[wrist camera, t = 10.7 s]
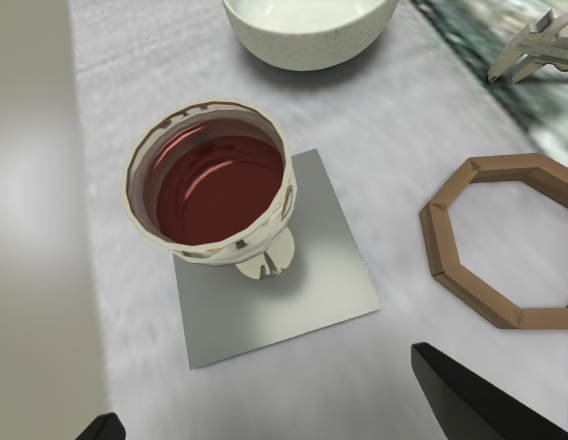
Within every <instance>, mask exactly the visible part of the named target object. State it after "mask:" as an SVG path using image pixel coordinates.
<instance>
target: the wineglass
mask: <svg viewBox="0 0 568 440" xmlns="http://www.w3.org/2000/svg"><path fill="white" fill-rule="evenodd" d="M296 193H297V182H296V176H295V170H294V166H293V164H292V160H291V154H290V148H289V142H288V138H287V137H286V135H285V133H284V132H283V130H282V128H281V127H280V125H279V123H278V122H277V120H276V119H275V118H273V117H272V116H271V115H270V114H268V113H267V112H266V111H264V110H263V109H262V108H261V107H259V106H257V105H254V104H252V103H249V102H246V101H243V100H240V99H237V98H219V97H212V98H207V99H202V100H197V101H192V102H189V103H186V104H184V105H182V106H180V107H178V108H176V109H173V110H171V111H169V112H167V113H166V114H164V115H163V116H162V117H161V118H159V119H158V120H157V121H155V122H154V123H153V124H152V125H150V126H149V127H148V128H147V129H146V130H145V131H144V133H143V134H142V135H141V136H140V138H139V139H138V140H137V142H136V143H135V144H134V145H133V147H132V148H131V151H130V153H129V155H128V158H127V160H126V162H125V165H124V167H123V170H122V179H121V191H120V194H121V198H122V202H123V205H124V209H125V213H126V216H127V217H128V219H129V220H130V221H131V223H132V224H133V225H134V226H135V228H136V229H137V230H138V232H139V233H140V234H141V235H142V236H144V237H145V238H147V239H149V240H151V241H153V242H154V243H156V244H158V245H160V246H161V247H163V248H167V249H168V250H169V251H170V252H172V253H174V254H176V255H177V256H179V257H181V258H183V259H185V260H186V261H188V262H192V263H195V264H201V265H208V266H214V267H221V266H227V265H233V264H236V266H237V267H238V269H239V270H240V271H241V272H242V273H243V274H245V275H247V276H249V277H250V278H254V279H260V280H263V279H270V278H273V277H275V276H277V275H279V274H281V273H282V272H283V271H284V270H285V269H286V268H287V267H288V266H289V264H290V262H291V260H292V258H293V255H294V249H295V245H294V239H293V236H292V234H291V232H290V230H289V229H288V228H287V225H288V223H289V221H290V219H291V218H292V215H293V210H294V204H295V199H296Z"/></svg>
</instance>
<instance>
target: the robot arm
mask: <svg viewBox="0 0 568 440" xmlns="http://www.w3.org/2000/svg"><path fill="white" fill-rule="evenodd" d="M411 365H412V369H413V371H414V374H415V376H416V378H417V380H418V382H419V384H420V386H421V388H422V390H423V392H424V394H425V396H426V398H427V400H428V402H429V404H430V406H431V408H432V410H433V412H434V415H435V417H436V419H437V421H438V423H439V424H440V426H441V428H442V430H443V432H444V433H445V435H446V437H447V439H448V440H568V432H567V431H565V430H563V429H562V428H560V427H559V426H557V425H556V424H554V423H552V422H551V421H549V420H548V419H546V418H545V417H543V416H541V415H540V414H538V413H537V412H535V411H534V410H532V409H530V408H529V407H527V406H526V405H524V404H523V403H521V402H519V401H518V400H516V399H515V398H513V397H512V396H510V395H508V394H507V393H505V392H504V391H502V390H501V389H499V388H497V387H496V386H494V385H493V384H491V383H490V382H488V381H486V380H485V379H483V378H482V377H480V376H479V375H477V374H475V373H474V372H472V371H471V370H469V369H468V368H466V367H464V366H463V365H461V364H460V363H458V362H457V361H455V360H453V359H452V358H450V357H449V356H447V355H446V354H444V353H442V352H441V351H439V350H438V349H436V348H435V347H433V346H431V345H430V344H428V343H426V342H420V343H415V344H412V346H411ZM125 438H126V431H125V428H124V426H123V425H122V423H121V421H120V420H119V418H118V416H117V415H116V413H114V412H110V413H106V414H102V415H99V416H98V417H96V418H95V419H94V420H93V421H92V422H91V424H90V425H89V426H88V427H87V428H86V429H85V430H84V431H83V432H82V433H81V434H80V435H79V436H78V437H77V438H76V439H75V440H125Z"/></svg>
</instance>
